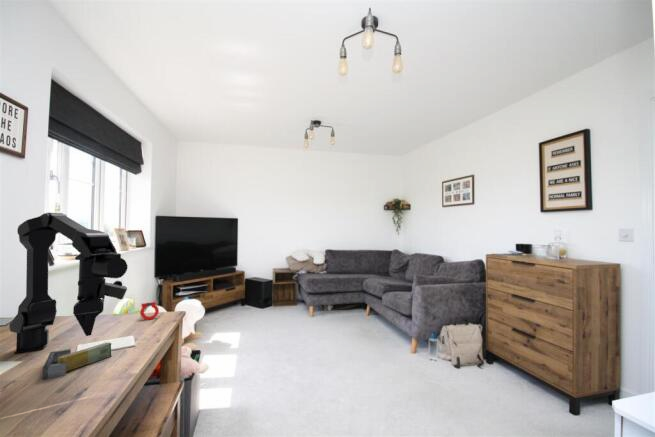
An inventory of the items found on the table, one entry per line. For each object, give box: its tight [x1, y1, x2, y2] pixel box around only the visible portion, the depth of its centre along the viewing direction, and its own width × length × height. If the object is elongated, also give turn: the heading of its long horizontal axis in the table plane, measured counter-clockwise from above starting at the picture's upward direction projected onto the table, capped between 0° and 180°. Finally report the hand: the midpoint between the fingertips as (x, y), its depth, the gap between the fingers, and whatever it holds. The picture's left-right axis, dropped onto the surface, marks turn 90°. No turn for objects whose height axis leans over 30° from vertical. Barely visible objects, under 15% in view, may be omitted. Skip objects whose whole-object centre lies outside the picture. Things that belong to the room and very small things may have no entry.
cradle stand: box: [41, 348, 72, 381], centre depth 80 cm, size 4×11×3 cm, turn 36°
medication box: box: [57, 343, 112, 373], centre depth 83 cm, size 12×3×4 cm, turn 155°
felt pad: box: [75, 335, 136, 352], centre depth 95 cm, size 15×10×1 cm, turn 126°
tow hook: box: [139, 301, 160, 321], centre depth 126 cm, size 7×10×7 cm
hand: (89, 330), depth 84 cm, fingers open, 9 cm apart
